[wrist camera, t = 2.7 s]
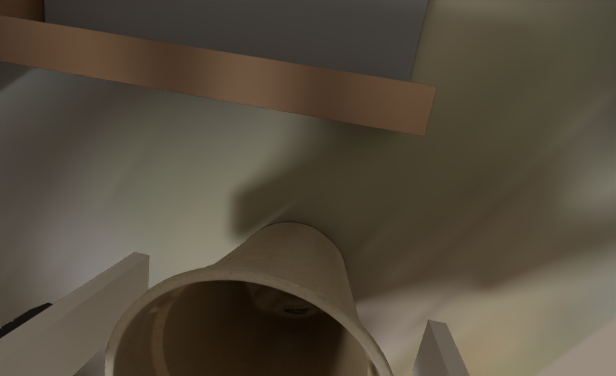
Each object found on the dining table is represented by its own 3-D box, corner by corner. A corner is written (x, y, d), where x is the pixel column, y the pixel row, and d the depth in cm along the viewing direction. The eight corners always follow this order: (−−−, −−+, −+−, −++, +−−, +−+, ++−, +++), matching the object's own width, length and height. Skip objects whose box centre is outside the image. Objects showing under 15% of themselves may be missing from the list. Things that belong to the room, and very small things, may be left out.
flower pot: (328, 162, 16) (305, 216, 8) (404, 308, 17) (454, 489, 9) (187, 233, 18) (47, 337, 10) (265, 358, 19) (201, 542, 11)
